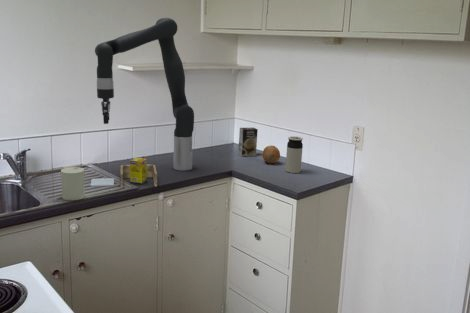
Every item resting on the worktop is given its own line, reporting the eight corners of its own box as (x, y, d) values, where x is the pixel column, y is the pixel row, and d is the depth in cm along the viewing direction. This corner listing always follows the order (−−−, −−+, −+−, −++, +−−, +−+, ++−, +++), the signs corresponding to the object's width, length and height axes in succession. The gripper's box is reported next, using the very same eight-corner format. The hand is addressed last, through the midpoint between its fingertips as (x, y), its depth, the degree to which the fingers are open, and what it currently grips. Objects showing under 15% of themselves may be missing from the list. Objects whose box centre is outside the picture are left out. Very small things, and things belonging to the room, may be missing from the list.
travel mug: (294, 174, 249) (297, 140, 244) (282, 171, 254) (284, 137, 249) (303, 171, 254) (306, 138, 250) (291, 168, 259) (293, 135, 255)
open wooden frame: (154, 176, 234) (154, 164, 232) (157, 186, 219) (157, 173, 217) (120, 177, 230) (120, 165, 228) (120, 187, 215) (120, 174, 214)
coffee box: (241, 157, 279) (243, 129, 275) (237, 154, 285) (239, 127, 281) (256, 156, 282) (257, 129, 278) (252, 153, 288) (253, 127, 284)
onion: (278, 161, 274) (279, 143, 271) (280, 165, 264) (281, 148, 261) (261, 160, 273) (262, 143, 271) (262, 165, 263) (263, 147, 261)
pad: (114, 179, 226) (114, 178, 226) (113, 186, 217) (113, 184, 216) (91, 180, 224) (91, 178, 224) (90, 186, 214) (90, 185, 214)
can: (89, 194, 204) (88, 167, 201) (77, 201, 195) (76, 172, 192) (69, 192, 206) (68, 164, 203) (57, 198, 197) (55, 170, 194)
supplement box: (142, 184, 220) (142, 161, 218) (129, 183, 221) (129, 160, 219) (147, 181, 226) (147, 158, 223) (134, 179, 227) (134, 157, 224)
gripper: (113, 89, 218) (114, 124, 222) (114, 85, 232) (115, 119, 236) (95, 89, 217) (97, 125, 221) (97, 85, 230) (99, 119, 234)
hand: (106, 122), depth 228 cm, fingers open, 8 cm apart
